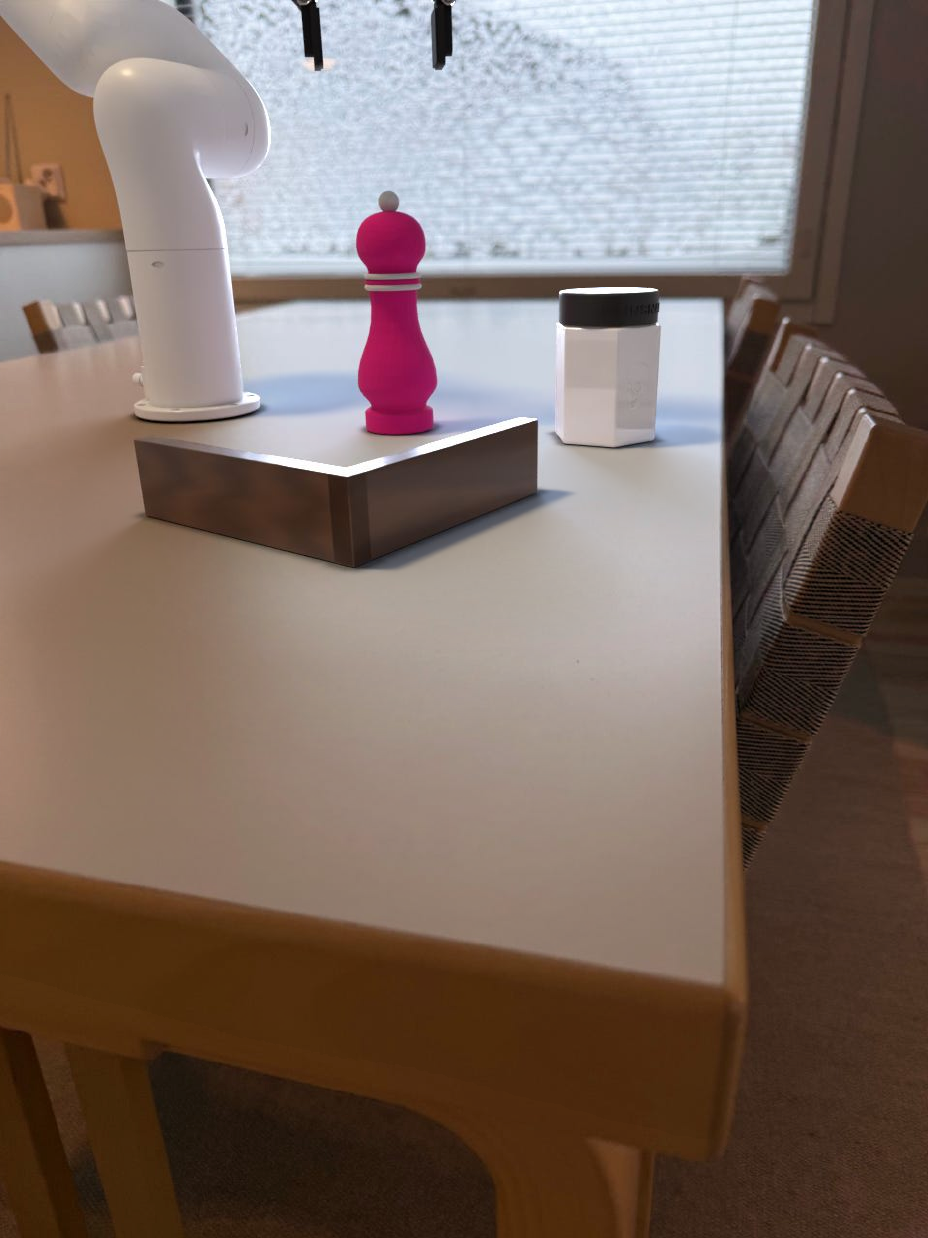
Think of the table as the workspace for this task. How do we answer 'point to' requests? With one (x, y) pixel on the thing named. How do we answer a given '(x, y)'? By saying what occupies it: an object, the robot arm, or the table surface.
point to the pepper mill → (394, 324)
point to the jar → (607, 366)
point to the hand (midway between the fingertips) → (379, 67)
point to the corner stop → (339, 491)
